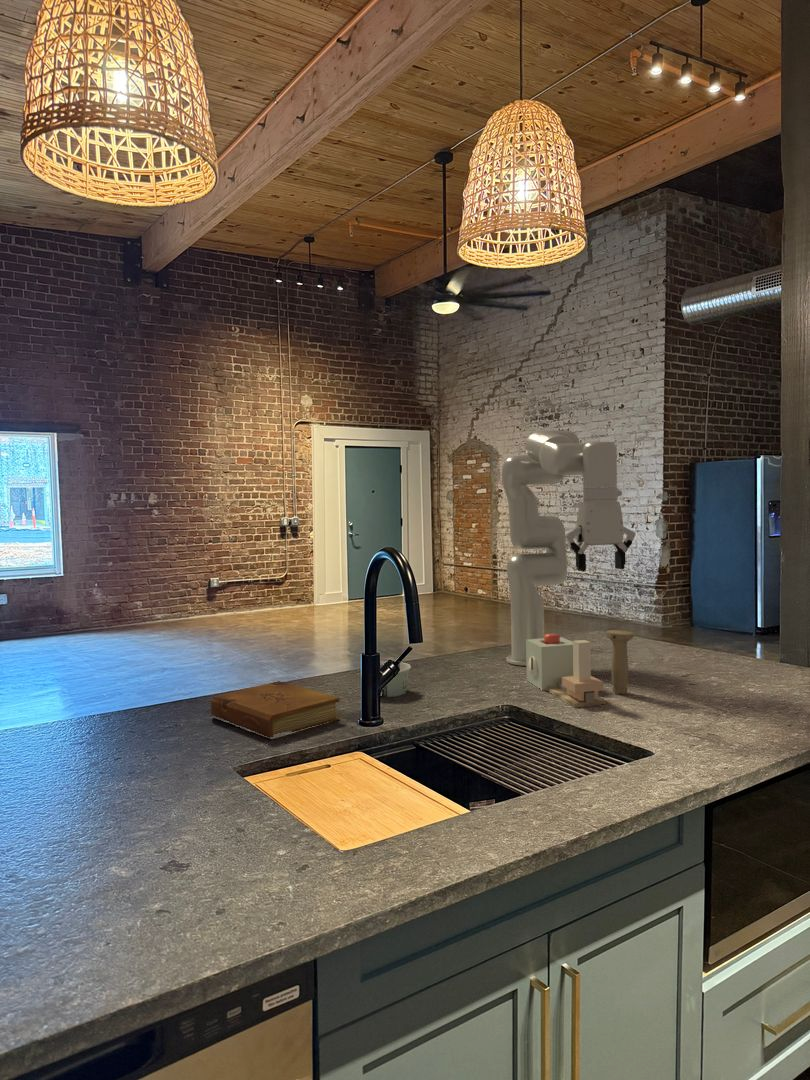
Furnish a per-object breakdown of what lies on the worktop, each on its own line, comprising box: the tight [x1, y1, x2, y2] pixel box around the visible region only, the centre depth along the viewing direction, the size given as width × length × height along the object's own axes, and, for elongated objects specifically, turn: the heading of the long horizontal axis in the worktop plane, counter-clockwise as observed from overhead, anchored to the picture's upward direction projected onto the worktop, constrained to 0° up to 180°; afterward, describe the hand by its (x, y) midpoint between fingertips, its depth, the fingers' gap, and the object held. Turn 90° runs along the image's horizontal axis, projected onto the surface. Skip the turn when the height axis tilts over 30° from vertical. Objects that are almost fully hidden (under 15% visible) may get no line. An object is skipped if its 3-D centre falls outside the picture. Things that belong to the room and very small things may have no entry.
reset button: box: [544, 633, 561, 644], centre depth 193 cm, size 4×4×3 cm
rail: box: [546, 678, 607, 709], centre depth 180 cm, size 16×8×3 cm, turn 13°
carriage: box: [562, 639, 604, 701], centre depth 176 cm, size 7×7×13 cm
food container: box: [380, 661, 412, 698], centre depth 190 cm, size 12×12×6 cm
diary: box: [210, 680, 341, 738], centre depth 169 cm, size 23×19×6 cm
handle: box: [605, 629, 634, 695], centre depth 183 cm, size 5×6×15 cm
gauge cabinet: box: [525, 636, 573, 691], centre depth 193 cm, size 10×11×11 cm
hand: (600, 569), depth 174 cm, fingers open, 9 cm apart
